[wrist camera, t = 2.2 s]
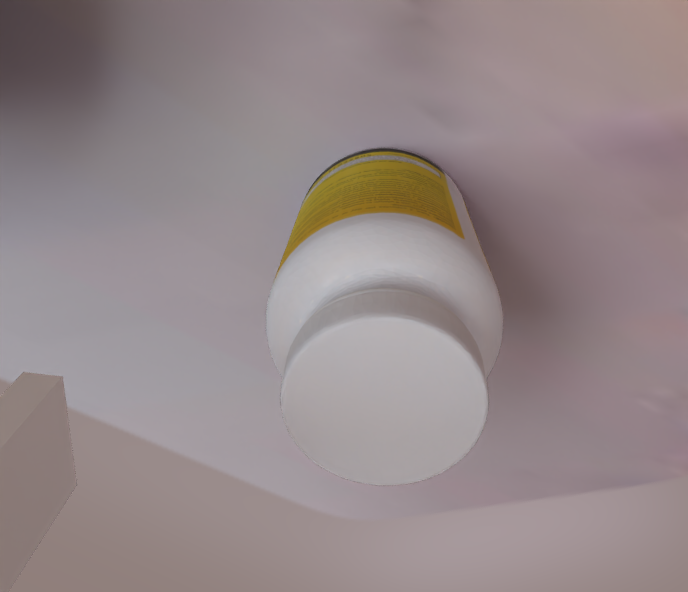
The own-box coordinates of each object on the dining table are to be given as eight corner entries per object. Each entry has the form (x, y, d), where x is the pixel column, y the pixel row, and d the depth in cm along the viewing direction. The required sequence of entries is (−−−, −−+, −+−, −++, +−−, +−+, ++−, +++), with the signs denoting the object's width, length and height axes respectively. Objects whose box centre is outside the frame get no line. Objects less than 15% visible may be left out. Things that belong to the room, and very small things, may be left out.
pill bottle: (275, 173, 24) (188, 321, 13) (442, 118, 22) (493, 233, 12) (333, 318, 26) (297, 538, 16) (485, 276, 25) (556, 484, 14)
